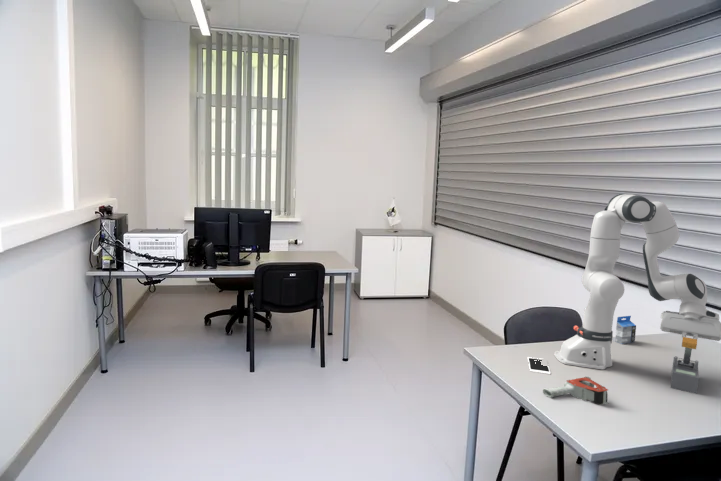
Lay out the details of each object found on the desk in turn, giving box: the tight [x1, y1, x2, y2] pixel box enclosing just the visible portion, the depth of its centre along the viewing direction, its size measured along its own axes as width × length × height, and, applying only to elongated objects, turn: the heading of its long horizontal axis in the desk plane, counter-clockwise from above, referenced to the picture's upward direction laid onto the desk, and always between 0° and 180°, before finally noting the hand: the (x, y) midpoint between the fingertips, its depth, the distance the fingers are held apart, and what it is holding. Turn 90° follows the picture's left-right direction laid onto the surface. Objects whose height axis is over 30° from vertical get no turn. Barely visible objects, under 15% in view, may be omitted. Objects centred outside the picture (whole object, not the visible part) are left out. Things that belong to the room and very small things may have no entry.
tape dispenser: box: [542, 376, 609, 405], centre depth 166 cm, size 18×5×20 cm
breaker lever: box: [678, 336, 698, 368], centre depth 178 cm, size 3×5×14 cm, turn 55°
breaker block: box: [670, 356, 700, 395], centre depth 181 cm, size 20×8×9 cm, turn 145°
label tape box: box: [614, 315, 637, 345], centre depth 226 cm, size 9×4×12 cm, turn 111°
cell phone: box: [526, 356, 551, 375], centre depth 193 cm, size 8×16×1 cm, turn 164°
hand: (688, 344), depth 184 cm, fingers closed
